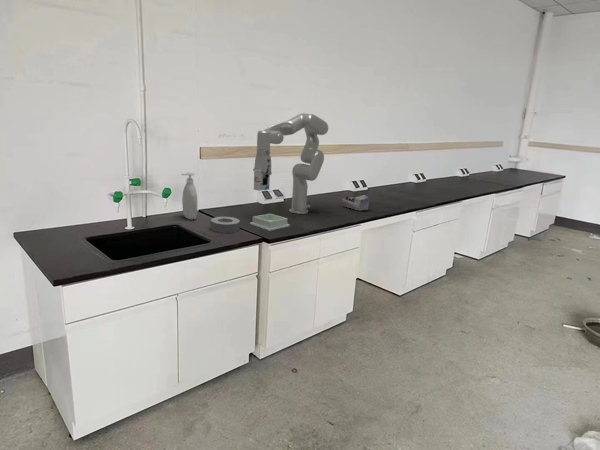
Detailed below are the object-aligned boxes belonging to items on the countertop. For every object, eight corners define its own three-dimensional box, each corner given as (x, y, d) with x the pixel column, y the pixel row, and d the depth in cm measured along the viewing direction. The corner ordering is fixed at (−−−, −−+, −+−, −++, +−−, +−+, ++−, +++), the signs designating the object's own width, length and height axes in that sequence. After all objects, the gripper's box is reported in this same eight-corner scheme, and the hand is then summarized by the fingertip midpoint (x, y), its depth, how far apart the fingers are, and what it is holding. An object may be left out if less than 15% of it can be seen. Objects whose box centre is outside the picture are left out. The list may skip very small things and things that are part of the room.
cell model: (361, 197, 278) (339, 192, 292) (359, 212, 281) (338, 207, 295) (373, 195, 286) (351, 191, 301) (371, 210, 289) (350, 205, 303)
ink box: (263, 188, 245) (264, 168, 242) (269, 189, 242) (270, 169, 239) (253, 189, 239) (253, 169, 236) (259, 190, 236) (259, 170, 233)
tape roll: (245, 230, 221) (245, 221, 219) (221, 235, 210) (221, 225, 209) (228, 224, 231) (229, 215, 230) (205, 227, 221) (205, 218, 219)
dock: (269, 220, 244) (270, 212, 243) (289, 226, 235) (290, 218, 233) (249, 224, 233) (250, 216, 231) (269, 230, 223) (270, 222, 222)
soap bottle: (176, 216, 239) (176, 169, 232) (189, 214, 244) (189, 169, 237) (187, 221, 228) (187, 173, 221) (201, 220, 234) (201, 173, 226)
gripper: (278, 154, 232) (276, 185, 237) (258, 150, 243) (256, 181, 248) (268, 154, 227) (267, 187, 232) (248, 151, 238) (247, 182, 243)
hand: (261, 183), depth 240 cm, fingers closed on ink box, 5 cm apart
